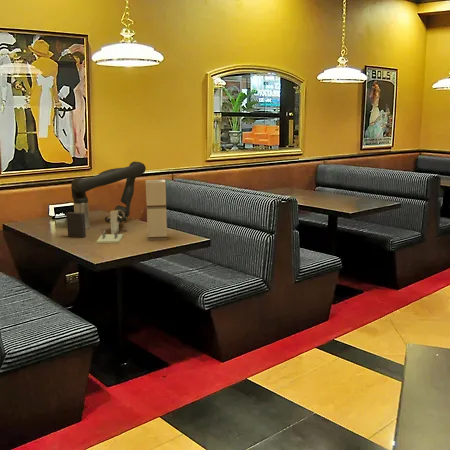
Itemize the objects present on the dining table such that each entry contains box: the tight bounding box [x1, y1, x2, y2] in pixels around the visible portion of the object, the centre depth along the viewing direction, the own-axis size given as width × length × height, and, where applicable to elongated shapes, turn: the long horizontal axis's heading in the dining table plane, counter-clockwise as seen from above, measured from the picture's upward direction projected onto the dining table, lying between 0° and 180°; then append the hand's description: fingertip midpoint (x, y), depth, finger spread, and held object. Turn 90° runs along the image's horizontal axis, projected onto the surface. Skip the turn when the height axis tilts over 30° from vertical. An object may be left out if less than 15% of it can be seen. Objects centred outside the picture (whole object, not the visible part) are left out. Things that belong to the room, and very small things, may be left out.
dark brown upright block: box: [65, 211, 87, 239], centre depth 338 cm, size 11×4×15 cm, turn 71°
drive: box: [109, 209, 120, 234], centre depth 347 cm, size 4×6×14 cm, turn 2°
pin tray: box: [95, 229, 124, 244], centre depth 330 cm, size 13×18×5 cm
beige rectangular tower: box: [145, 179, 168, 241], centre depth 331 cm, size 11×11×35 cm
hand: (114, 221), depth 345 cm, fingers open, 7 cm apart
